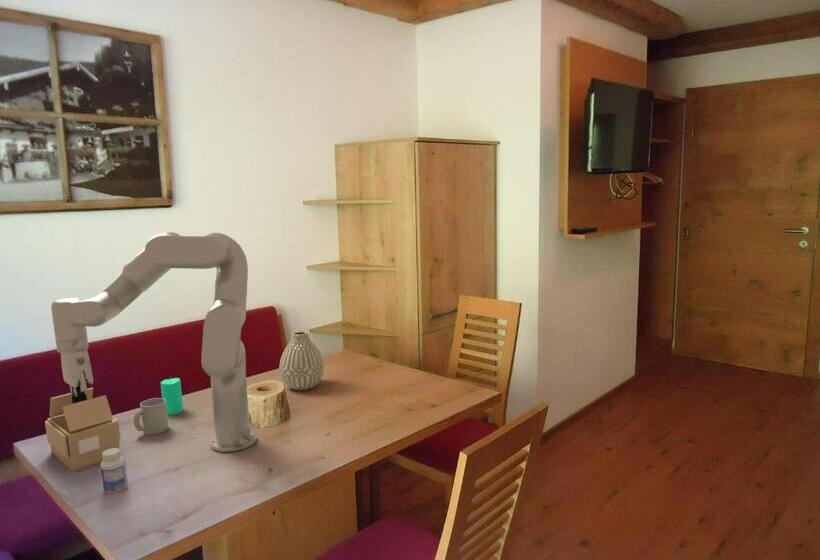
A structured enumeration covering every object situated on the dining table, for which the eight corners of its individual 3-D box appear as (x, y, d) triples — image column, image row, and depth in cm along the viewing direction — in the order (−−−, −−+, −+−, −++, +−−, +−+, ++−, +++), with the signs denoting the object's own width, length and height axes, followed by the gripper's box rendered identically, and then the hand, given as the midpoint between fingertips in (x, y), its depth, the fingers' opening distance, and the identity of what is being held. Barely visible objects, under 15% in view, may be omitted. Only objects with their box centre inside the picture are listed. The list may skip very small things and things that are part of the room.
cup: (173, 428, 185) (170, 401, 184) (141, 440, 178) (138, 411, 176) (160, 423, 190) (158, 396, 188) (129, 434, 182) (126, 406, 181)
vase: (321, 393, 212) (318, 338, 209) (276, 394, 212) (272, 339, 209) (328, 378, 228) (325, 326, 224) (286, 379, 228) (282, 328, 225)
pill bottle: (109, 483, 152) (104, 447, 150) (131, 482, 152) (127, 445, 151) (99, 494, 147) (95, 457, 145) (122, 493, 147) (118, 455, 145)
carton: (123, 455, 168) (119, 420, 166) (70, 473, 158) (65, 437, 157) (99, 437, 181) (95, 405, 179) (48, 453, 171) (43, 419, 169)
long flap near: (113, 419, 166) (105, 395, 167) (70, 431, 158) (62, 406, 159) (112, 419, 166) (105, 395, 167) (69, 432, 158) (62, 406, 160)
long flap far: (91, 405, 177) (93, 388, 174) (50, 417, 169) (51, 399, 166) (90, 404, 177) (92, 387, 174) (49, 415, 170) (50, 397, 166)
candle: (186, 408, 202) (183, 373, 200) (177, 414, 196) (174, 379, 194) (169, 407, 203) (165, 373, 201) (160, 414, 197) (156, 379, 195)
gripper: (97, 345, 161) (105, 411, 164) (77, 336, 172) (85, 398, 175) (66, 351, 156) (75, 419, 159) (48, 342, 166) (56, 406, 169)
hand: (80, 408), depth 167 cm, fingers closed
